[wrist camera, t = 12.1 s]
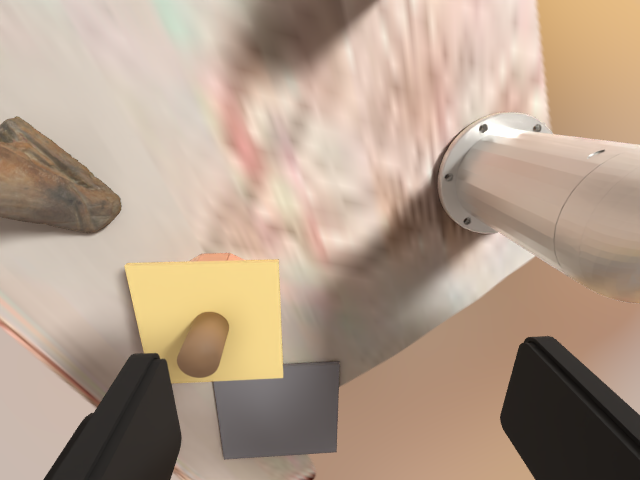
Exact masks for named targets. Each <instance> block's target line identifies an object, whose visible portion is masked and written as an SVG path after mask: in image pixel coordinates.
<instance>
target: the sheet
mask: <svg viewBox="0 0 640 480" xmlns="http://www.w3.org/2000/svg"><path fill="white" fill-rule="evenodd" d="M124 267H125V271H126V275H127V280H128V284H129V289H130V293H131V298H132V302H133V307H134V311H135V315H136V320H137V324H138V329H139V333H140V338H141V342H142V347H143V351H144V353H158V355H159V356H160V359H166V361H167V364H168V369H169V375H170V380H171V383H191V382H212V381H232V380H253V379H273V378H283V354H282V330H281V306H280V281H279V259H275V260H235V261H194V262H153V263H127V264H126V265H125V266H124Z"/></svg>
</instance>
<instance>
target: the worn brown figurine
mask: <svg viewBox="0 0 640 480" xmlns="http://www.w3.org/2000/svg"><path fill="white" fill-rule="evenodd" d="M120 211H121V202H120V198H119V196H118V195H117V194H116V193H114V192H113V191H112V190H111V188H109V187H108V186H107V185H106V184H104V183H103V182H102V181H101V180H99V179H98V178H95V177H94V175H93V173H91V172H89V170H88V169H87V167H85V166H84V165H82V164H81V163H80V162H78V160H76V159H74V158H72V157H71V155H70V154H68V153H66V152H65V151H64V150H63V149H62V148H60V147H59V146H58V145H57V144H55V143H54V142H53V141H52V140H50V139H49V138H47V137H45V135H43V134H41V132H39V131H37V130H36V129H34V127H32V126H31V125H30V124H28V123H27V122H25V121H24V120H22V119H21V118H20V117H17V116H16V117H15V118H11V119H7V120H5V121H4V122H3V123H2V124H1V125H0V217H2V218H8V219H14V220H19V221H25V222H32V223H39V224H48V225H51V226H55V227H60V228H64V229H70V230H75V231H81V232H86V233H91V232H96V231H98V230H100V229H102V228H103V227H105V226H106V225H107V224H109V223H110V222H111V221H112V220H114V218H115V217H116V216H117V215H118V214H119V213H120Z"/></svg>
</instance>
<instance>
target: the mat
mask: <svg viewBox="0 0 640 480" xmlns="http://www.w3.org/2000/svg"><path fill="white" fill-rule="evenodd" d="M339 365H340V364H339V362H317V363H295V364H283V378H273V379H253V380H232V381H213V383H214V390H215V398H216V405H217V412H218V419H219V427H220V434H221V441H222V448H223V456H224V459H238V458H254V457H269V456H285V455H300V454H314V453H315V454H316V453H331V452H336V449H337V421H338V392H339Z"/></svg>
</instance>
